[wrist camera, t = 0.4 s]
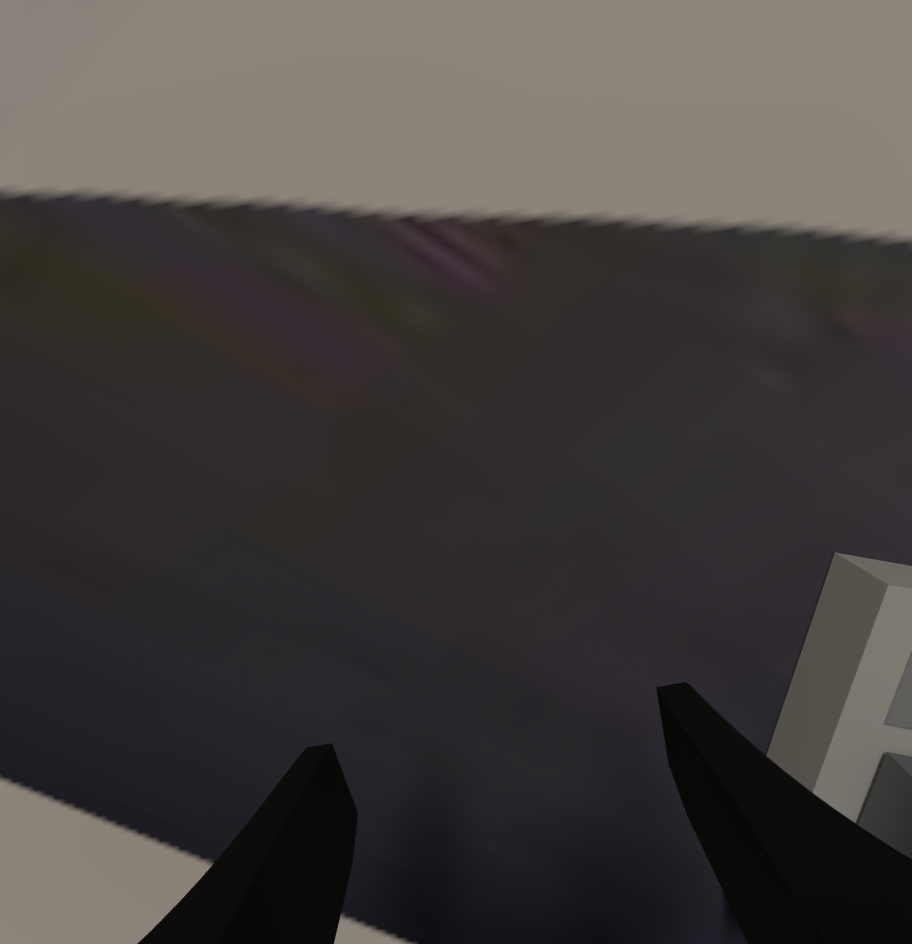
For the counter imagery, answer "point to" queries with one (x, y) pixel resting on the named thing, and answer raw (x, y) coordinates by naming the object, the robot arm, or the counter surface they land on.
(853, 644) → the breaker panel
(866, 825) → the handle
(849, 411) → the counter surface
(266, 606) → the counter surface
